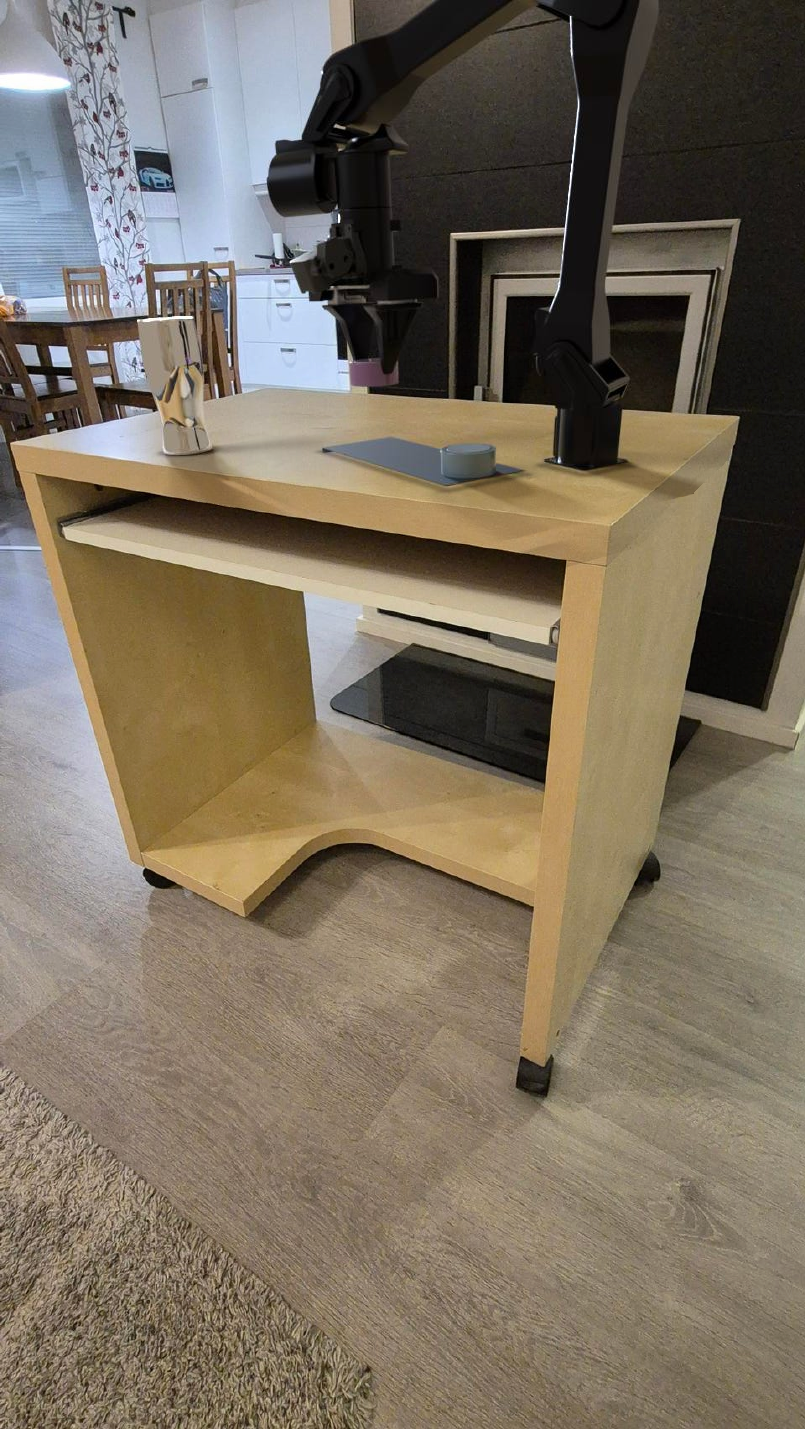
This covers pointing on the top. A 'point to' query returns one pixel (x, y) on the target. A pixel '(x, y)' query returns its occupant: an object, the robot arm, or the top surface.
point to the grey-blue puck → (468, 460)
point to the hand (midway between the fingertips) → (374, 372)
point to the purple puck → (371, 373)
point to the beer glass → (176, 382)
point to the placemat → (407, 459)
